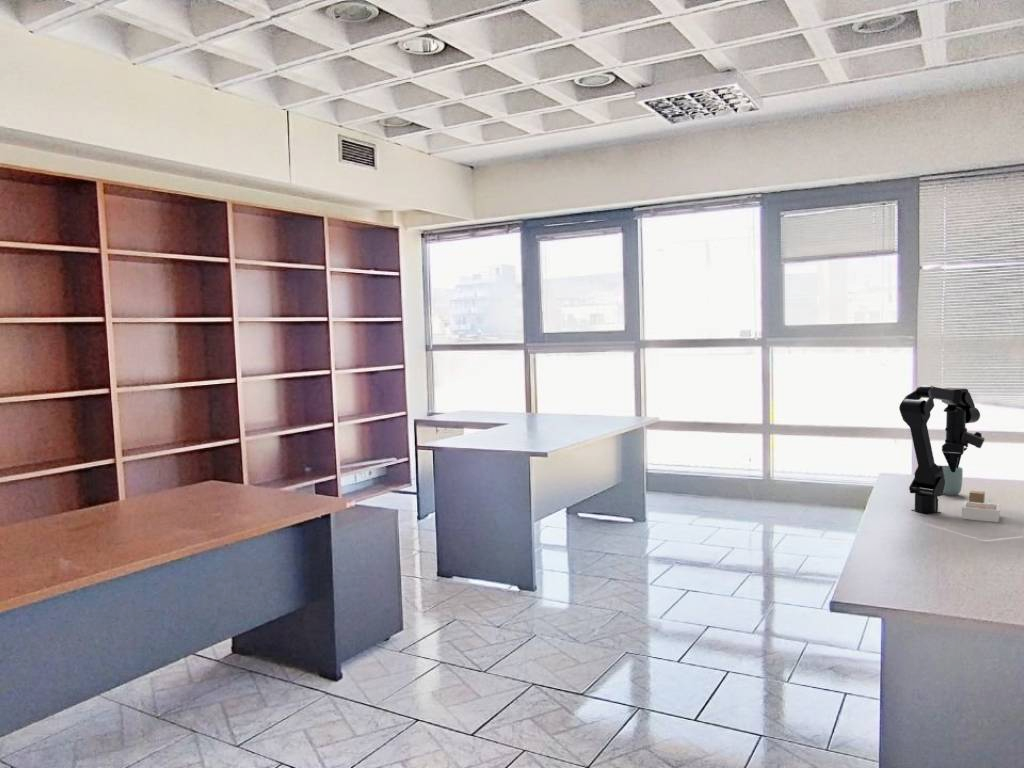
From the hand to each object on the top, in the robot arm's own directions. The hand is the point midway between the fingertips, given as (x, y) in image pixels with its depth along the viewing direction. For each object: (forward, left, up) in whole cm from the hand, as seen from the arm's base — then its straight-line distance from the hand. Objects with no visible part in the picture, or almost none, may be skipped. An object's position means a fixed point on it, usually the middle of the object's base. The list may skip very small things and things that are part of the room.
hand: (954, 470), depth 267 cm
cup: (+13, +15, -13) cm, 24 cm away
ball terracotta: (-5, -16, -12) cm, 20 cm away
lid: (+4, -5, -13) cm, 14 cm away
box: (-7, -17, -12) cm, 22 cm away
